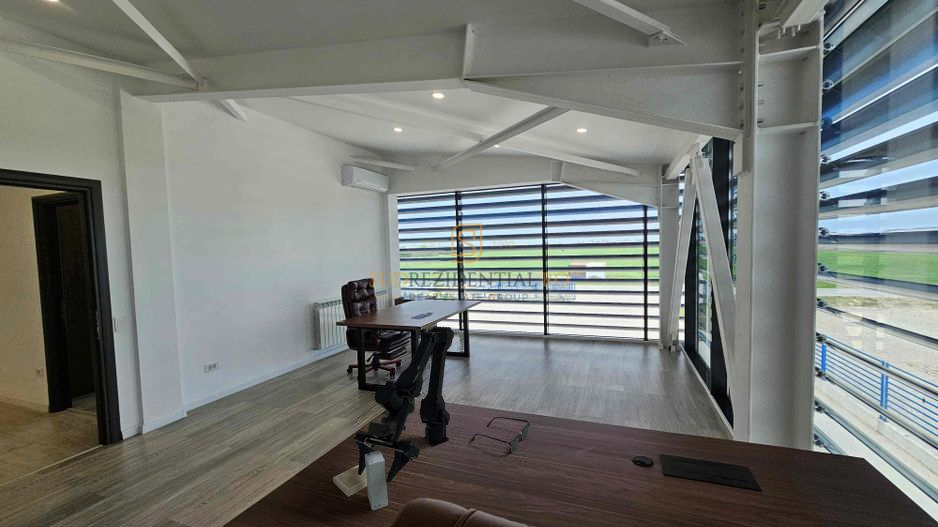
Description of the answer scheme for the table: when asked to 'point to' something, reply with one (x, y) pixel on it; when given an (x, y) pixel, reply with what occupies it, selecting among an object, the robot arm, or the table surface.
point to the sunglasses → (515, 440)
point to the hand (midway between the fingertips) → (373, 478)
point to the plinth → (351, 481)
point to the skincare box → (376, 480)
